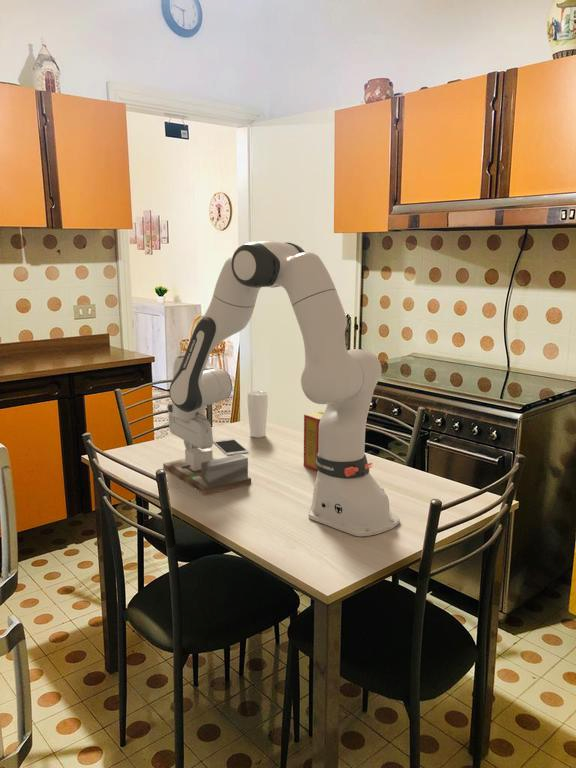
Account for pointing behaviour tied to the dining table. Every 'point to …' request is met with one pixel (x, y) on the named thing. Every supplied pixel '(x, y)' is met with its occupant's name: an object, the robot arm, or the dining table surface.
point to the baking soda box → (311, 438)
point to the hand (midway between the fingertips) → (191, 455)
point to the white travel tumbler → (257, 413)
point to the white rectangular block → (197, 457)
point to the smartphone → (230, 446)
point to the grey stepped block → (213, 473)
